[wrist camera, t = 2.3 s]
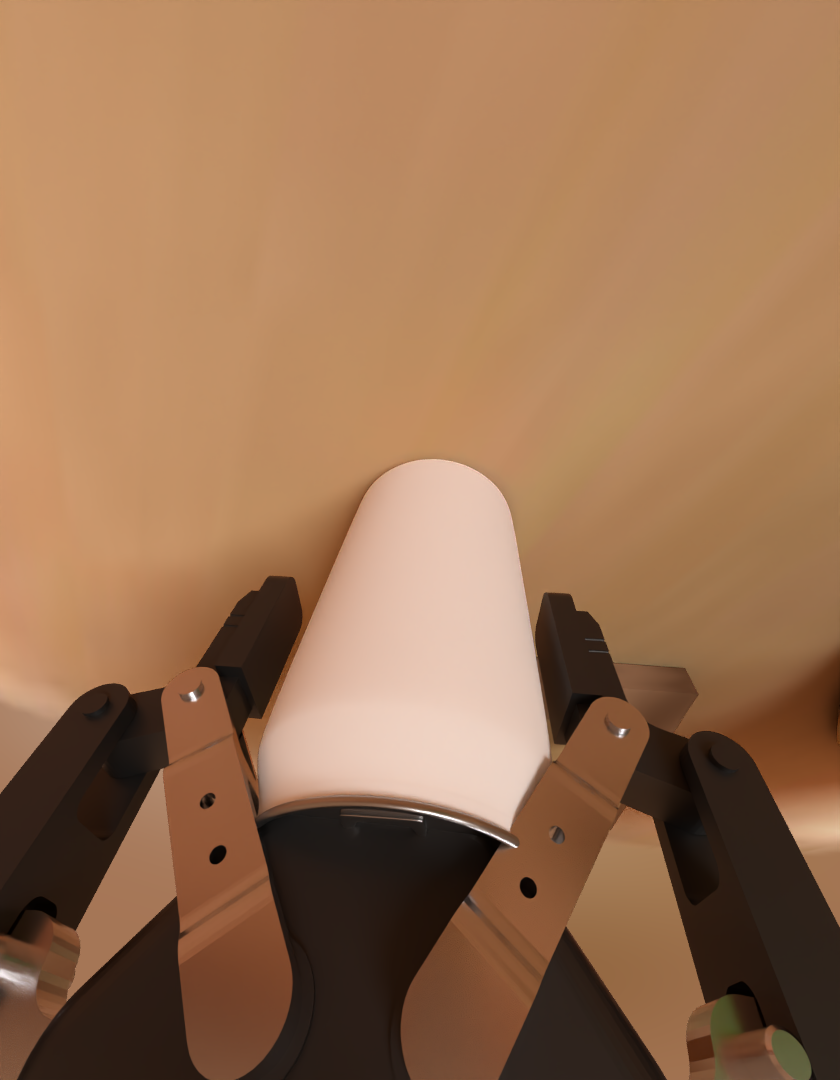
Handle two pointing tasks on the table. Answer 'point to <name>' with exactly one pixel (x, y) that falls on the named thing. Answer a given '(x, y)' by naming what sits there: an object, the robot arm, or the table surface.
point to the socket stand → (646, 699)
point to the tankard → (838, 728)
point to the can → (414, 669)
